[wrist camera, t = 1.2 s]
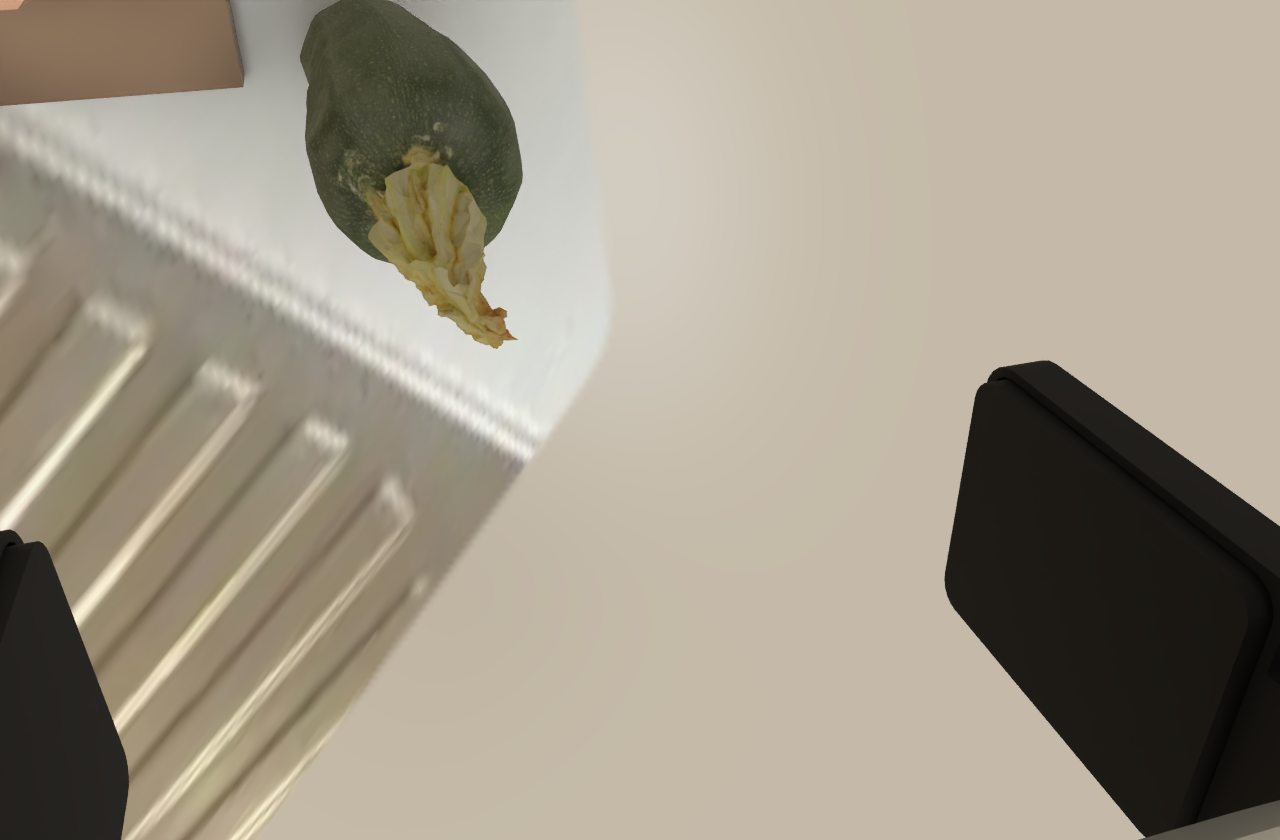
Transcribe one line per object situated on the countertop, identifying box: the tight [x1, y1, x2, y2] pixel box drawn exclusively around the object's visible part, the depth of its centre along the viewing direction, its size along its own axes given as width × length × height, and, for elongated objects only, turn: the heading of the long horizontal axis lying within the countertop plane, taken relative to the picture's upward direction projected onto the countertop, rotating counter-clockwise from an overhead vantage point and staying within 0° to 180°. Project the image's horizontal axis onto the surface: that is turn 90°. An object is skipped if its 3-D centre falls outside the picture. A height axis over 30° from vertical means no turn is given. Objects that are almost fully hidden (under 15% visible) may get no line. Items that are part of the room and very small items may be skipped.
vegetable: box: [300, 0, 523, 349], centre depth 25 cm, size 4×4×20 cm
